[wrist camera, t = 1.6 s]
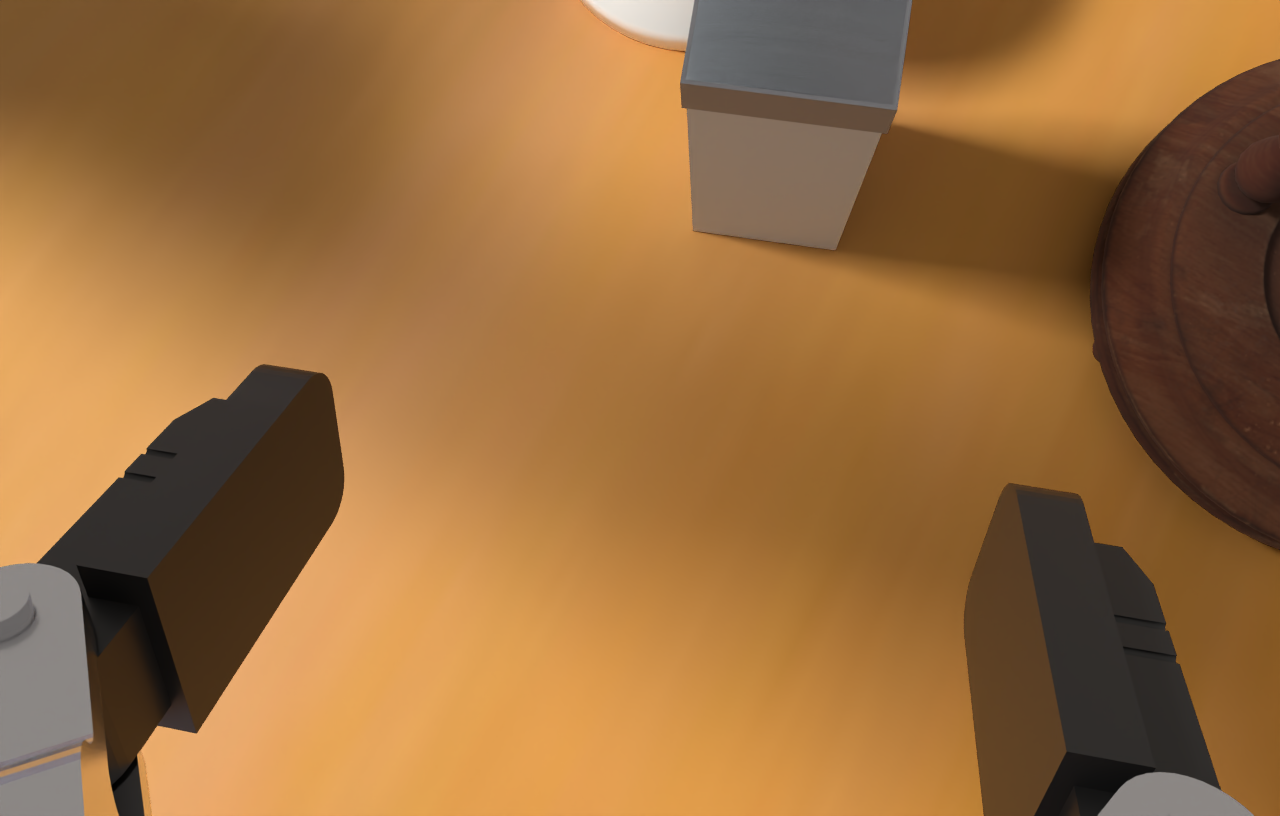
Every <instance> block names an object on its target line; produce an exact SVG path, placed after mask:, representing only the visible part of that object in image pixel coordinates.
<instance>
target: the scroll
mask: <svg viewBox="0 0 1280 816" xmlns="http://www.w3.org/2000/svg"><path fill="white" fill-rule="evenodd" d="M1090 308H1091V323H1092V329H1093V334H1094V340H1095V341H1094V344H1093V355H1094V357H1095V358H1096V359H1097V360H1098V361H1099V362H1100V365H1101V368H1102V372H1103V374H1104V377H1105V379H1106V382H1107V384H1108V387H1109V390H1110V392H1111V395H1112V397H1113V399H1114V401H1115V403H1116V405H1117V407H1118V409H1119V411H1120V413H1121V415H1122V417H1123V419H1124V420H1125V422H1126V423H1127V425H1128V427H1129V428H1130V430H1131V431H1132V433H1133V434H1134V436H1135V438H1136V439H1137V441H1138V442H1139V443H1140V445H1141V446H1142V447H1143V449H1144V450H1145V451H1146V452H1147V454H1148V455H1149V456H1150V458H1151V459H1152V460H1153V462H1154V463H1155V464H1156V465H1157V466H1158V467H1159V468H1160V469H1161V470H1162V471H1163V472H1164V473H1165V474H1166V476H1167V477H1168V478H1169V479H1170V480H1171V481H1172V482H1173V483H1174V484H1175V485H1176V486H1178V487H1179V488H1180V489H1181V490H1182V491H1183V492H1184V493H1185V494H1186V495H1188V496H1189V497H1190V498H1191V499H1192V500H1193V501H1195V502H1196V503H1197V504H1199V505H1200V506H1201V507H1203V508H1204V509H1205V510H1207V511H1208V512H1209V513H1211V514H1212V515H1213V516H1215V517H1216V518H1218V519H1220V520H1221V521H1223V522H1225V523H1226V524H1228V525H1229V526H1231V527H1233V528H1234V529H1236V530H1238V531H1239V532H1241V533H1243V534H1245V535H1247V536H1249V537H1251V538H1253V539H1256V540H1258V541H1260V542H1262V543H1264V544H1266V545H1269V546H1271V547H1274V548H1276V549H1279V550H1280V59H1279V60H1276V61H1272V62H1269V63H1266V64H1263V65H1260V66H1258V67H1255V68H1253V69H1251V70H1248V71H1246V72H1243V73H1241V74H1239V75H1237V76H1235V77H1233V78H1231V79H1229V80H1228V81H1226V82H1224V83H1222V84H1220V85H1218V86H1217V87H1215V88H1214V89H1212V90H1211V91H1209V92H1208V93H1206V94H1205V95H1203V96H1202V97H1200V98H1199V99H1197V100H1196V101H1195V102H1193V103H1192V104H1191V105H1190V106H1189V107H1187V108H1186V109H1185V110H1184V111H1182V112H1181V113H1180V114H1179V115H1178V116H1177V117H1176V118H1175V119H1174V120H1173V121H1172V122H1171V123H1170V124H1168V125H1167V126H1166V127H1165V128H1164V129H1163V130H1162V131H1161V132H1160V133H1159V134H1158V135H1157V136H1156V137H1155V138H1154V139H1153V140H1152V141H1151V142H1150V143H1149V144H1148V145H1147V146H1146V147H1145V148H1144V150H1143V151H1142V152H1141V153H1140V155H1139V156H1138V157H1137V158H1136V160H1135V161H1134V162H1133V163H1132V165H1131V166H1130V168H1129V169H1128V171H1127V172H1126V174H1125V176H1124V177H1123V179H1122V180H1121V182H1120V183H1119V185H1118V187H1117V189H1116V191H1115V193H1114V195H1113V197H1112V199H1111V201H1110V203H1109V205H1108V208H1107V210H1106V213H1105V216H1104V218H1103V221H1102V224H1101V226H1100V230H1099V234H1098V237H1097V241H1096V245H1095V249H1094V255H1093V262H1092V269H1091V281H1090Z"/></svg>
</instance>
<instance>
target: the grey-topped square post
mask: <svg viewBox="0 0 1280 816" xmlns="http://www.w3.org/2000/svg"><path fill="white" fill-rule="evenodd" d="M911 6H912V0H694V6H693V12H692V17H691V23H690V29H689V35H688V41H687V47H686V52H685V58H684V64H683V70H682V76H681V82H680V88H681V104H682V108H687V120H688V140H689V160H690V181H691V201H692V221H693V231H699V232H706V233H713V234H721V235H728V236H735V237H742V238H749V239H757V240H764V241H771V242H778V243H786V244H793V245H800V246H807V247H814V248H822V249H829V250H836V248H837V245H838V243H839V240H840V238H841V235H842V233H843V230H844V228H845V225H846V223H847V220H848V217H849V215H850V212H851V210H852V207H853V205H854V202H855V200H856V197H857V195H858V192H859V190H860V187H861V185H862V182H863V180H864V177H865V175H866V172H867V170H868V167H869V165H870V162H871V159H872V157H873V154H874V152H875V149H876V147H877V144H878V142H879V139H880V137H881V134H882V133H883V134H888V131H889V129H890V126H891V124H892V121H893V119H894V117H895V114H896V112H897V107H898V100H899V93H900V86H901V78H902V71H903V64H904V57H905V49H906V42H907V35H908V28H909V20H910V13H911Z"/></svg>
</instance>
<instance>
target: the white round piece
mask: <svg viewBox="0 0 1280 816" xmlns="http://www.w3.org/2000/svg"><path fill="white" fill-rule="evenodd" d="M580 1H581V2H582V3H583V5H584V6H585V7H586V8H587V9H588V10H590V11H591V12H592V13H593V14H594V15H595V16H596V17H597V18H598V19H600V20H601V21H602V22H604V23H605V24H607V25H608V26H609V27H611V28H612V29H614V30H616V31H618V32H619V33H621V34H623V35H625V36H627V37H629V38H631V39H634V40H637V41H639V42H642V43H644V44H647V45H651V46H655V47H659V48H664V49H669V50H678V51H686V47H687V41H688V35H689V29H690V23H691V17H692V12H693V6H694V0H580Z"/></svg>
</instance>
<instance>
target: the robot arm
mask: <svg viewBox="0 0 1280 816" xmlns="http://www.w3.org/2000/svg"><path fill="white" fill-rule="evenodd" d="M343 489H344V467H343V460H342V453H341V446H340V439H339V432H338V426H337V419H336V412H335V405H334V398H333V391H332V386H331V383H330V381H329V379H328V377H327V376H326V375H325V374H323V373H317V372H311V371H304V370H298V369H292V368H285V367H279V366H272V365H265V364H263V365H260V366H258V367H256V368H255V369H254V370H253V371H252V372H251V373H250V374H249V375H248V377H247V378H246V379H245V380H244V381H243V382H242V383H241V384H240V385H239V386H238V388H237V389H236V390H235V391H234V392H233V393H232V394H231V395H230V396H229V397H228V399H227V400H223V399H217V398H212V399H211V400H209V401H207V402H205V403H204V404H202V405H200V406H198V407H196V408H195V409H193V410H191V411H189V412H187V413H186V414H184V415H182V416H180V417H178V418H177V419H175V420H173V421H172V422H171V424H170V425H169V426H168V427H167V428H166V429H165V430H164V431H163V432H162V433H161V434H160V435H159V436H158V437H157V438H156V439H155V440H154V441H153V442H152V443H151V444H150V445H149V447H148V448H147V452H146V454H141V455H140V456H139V457H138V458H137V459H136V460H135V461H134V462H133V463H132V464H131V465H130V466H129V467H128V468H127V470H126V471H125V475H124V477H123V478H118V479H117V480H116V481H115V482H114V483H113V484H112V485H111V486H110V487H109V488H108V489H107V490H106V491H105V493H104V494H103V495H102V496H101V497H100V498H99V499H98V500H97V501H96V502H95V503H94V504H93V505H92V506H91V507H90V508H89V509H88V510H87V511H86V512H85V513H84V514H83V515H82V517H81V518H80V519H79V520H78V521H77V522H76V523H75V524H74V525H73V526H72V527H71V528H70V529H69V530H68V531H67V532H66V533H65V534H64V535H63V536H62V537H61V538H60V540H59V541H58V542H57V543H56V544H55V545H54V546H53V547H52V548H51V549H50V550H49V551H48V552H47V553H46V554H45V555H44V556H43V557H42V558H41V559H40V560H39V561H38V563H36V564H33V563H26V564H15V565H9V566H4V567H0V816H152V811H151V803H150V796H149V788H148V781H147V773H146V765H145V761H144V757H143V754H142V752H141V749H142V747H143V746H144V744H145V743H146V741H147V740H148V738H149V737H150V736H151V734H152V733H153V731H154V730H155V728H156V727H157V726H162V727H167V728H172V729H177V730H182V731H187V732H192V733H197V732H198V731H199V729H200V727H201V726H202V724H203V723H204V721H205V720H206V718H207V717H208V715H209V714H210V712H211V710H212V709H213V707H214V706H215V704H216V703H217V701H218V700H219V698H220V696H221V695H222V693H223V692H224V690H225V689H226V687H227V686H228V684H229V683H230V681H231V679H232V678H233V676H234V675H235V673H236V672H237V670H238V669H239V667H240V665H241V664H242V662H243V661H244V659H245V658H246V656H247V655H248V653H249V651H250V650H251V648H252V647H253V645H254V644H255V642H256V641H257V639H258V638H259V636H260V634H261V633H262V631H263V630H264V628H265V627H266V625H267V624H268V622H269V620H270V619H271V617H272V616H273V614H274V613H275V611H276V610H277V608H278V606H279V605H280V603H281V602H282V600H283V599H284V597H285V596H286V594H287V593H288V591H289V589H290V588H291V586H292V585H293V583H294V582H295V580H296V579H297V577H298V575H299V574H300V572H301V571H302V569H303V568H304V566H305V565H306V563H307V561H308V560H309V558H310V557H311V555H312V554H313V552H314V551H315V549H316V548H317V546H318V544H319V543H320V541H321V540H322V538H323V537H324V535H325V534H326V532H327V530H328V529H329V527H330V526H331V524H332V523H333V521H334V519H335V517H336V515H337V512H338V510H339V507H340V503H341V500H342V495H343ZM1165 625H1166V621H1165V618H1164V615H1163V612H1162V609H1161V606H1160V603H1159V600H1158V597H1157V594H1156V591H1155V588H1154V585H1153V583H1152V582H1151V581H1150V580H1149V579H1148V577H1147V576H1146V575H1145V574H1144V573H1143V571H1142V570H1141V569H1140V568H1139V567H1138V565H1137V564H1136V563H1135V562H1134V561H1133V559H1132V558H1131V557H1130V556H1129V555H1128V553H1127V552H1126V551H1125V550H1124V549H1123V547H1118V546H1112V545H1105V544H1099V543H1094V540H1093V537H1092V533H1091V529H1090V526H1089V522H1088V519H1087V515H1086V511H1085V508H1084V504H1083V501H1082V499H1081V497H1080V496H1079V495H1078V494H1075V493H1069V492H1062V491H1056V490H1049V489H1043V488H1037V487H1030V486H1024V485H1018V484H1011V483H1009V484H1007V485H1006V486H1005V488H1004V489H1003V491H1002V493H1001V495H1000V497H999V500H998V503H997V506H996V508H995V511H994V514H993V517H992V520H991V523H990V525H989V528H988V531H987V534H986V537H985V539H984V542H983V545H982V548H981V551H980V553H979V556H978V559H977V562H976V565H975V568H974V570H973V573H972V576H971V579H970V582H969V586H968V591H967V596H966V602H965V611H964V637H965V646H966V656H967V665H968V674H969V683H970V693H971V702H972V711H973V720H974V729H975V739H976V748H977V757H978V766H979V775H980V785H981V794H982V803H983V812H984V816H1254V815H1253V814H1252V813H1251V812H1250V811H1249V810H1248V809H1246V808H1245V807H1244V806H1243V805H1241V804H1240V803H1239V802H1237V801H1236V800H1235V799H1234V798H1232V797H1231V796H1229V795H1227V794H1226V793H1224V792H1222V790H1221V788H1220V786H1219V783H1218V780H1217V777H1216V774H1215V771H1214V768H1213V765H1212V761H1211V758H1210V755H1209V752H1208V749H1207V746H1206V743H1205V740H1204V737H1203V734H1202V731H1201V728H1200V725H1199V722H1198V719H1197V716H1196V713H1195V710H1194V707H1193V704H1192V701H1191V698H1190V695H1189V691H1188V688H1187V685H1186V682H1185V679H1184V676H1183V673H1182V670H1181V667H1180V664H1177V663H1176V656H1177V655H1176V652H1175V649H1174V646H1173V643H1172V640H1171V637H1170V634H1169V631H1165Z"/></svg>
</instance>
